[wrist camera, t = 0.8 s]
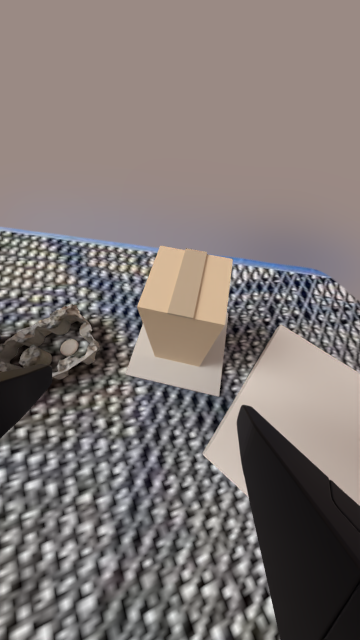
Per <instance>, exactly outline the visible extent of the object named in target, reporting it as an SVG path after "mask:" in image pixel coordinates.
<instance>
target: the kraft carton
mask: <svg viewBox="0 0 360 640" xmlns="http://www.w3.org/2000/svg"><path fill="white" fill-rule="evenodd" d="M232 261H233V259H229V258H224V257H219V256H213V255H208V254H207V252H202V251H198V250H192V249H187V248H186V250H181V249H176V248H170V247H165V246H160V248H159V251H158V253H157V256H156V259H155V261H154V264H153V267H152V269H151V272H150V274H149V277H148V280H147V282H146V285H145V288H144V290H143V293H142V296H141V298H140V301H139V303H138V306H137V307H138V310H139V313H140V316H141V319H142V322H143V324H144V327H145V330H146V333H147V336H148V339H149V341H150V344H151V347H152V350H153V353H154V356H155V357H158V358H163V359H167V360H172V361H176V362H180V363H185V364H189V365H194V366H198V367H199V366H200V365H201V363H202V361H203V360H204V358H205V356H206V355H207V353H208V352H209V350H210V348H211V347H212V345H213V344H214V342H215V340H216V339H217V337H218V336H219V334H220V332H221V331H222V329H223V327H224V326H225V320H226V312H227V303H228V295H229V286H230V278H231V269H232Z"/></svg>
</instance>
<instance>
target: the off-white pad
mask: <svg viewBox="0 0 360 640" xmlns="http://www.w3.org/2000/svg"><path fill="white" fill-rule="evenodd" d="M241 405H248V406H251V407H253V408H254V409H255V410H256V411H257V412H258V413H259V414H260V415H261V416H262V417H263V418H265V419H266V420H267V421H268V422H269V423H270V424H271V425H272V426H273V427H274V428H275V429H276V430H278V431H279V432H280V433H281V434H282V435H283V436H284V437H285V438H286V439H287V440H288V441H289V442H291V443H292V444H293V445H294V446H295V447H296V448H297V449H298V450H299V451H300V452H301V453H303V454H304V455H305V456H306V457H307V458H308V459H309V460H310V461H311V462H312V463H313V464H314V465H316V466H317V467H318V468H319V469H320V470H321V471H322V472H323V473H324V474H325V475H326V476H327V477H328V478H329V480H332V481H333V482H334V483H335V484H336V485H337V486H338V487H339V488H341V489H342V490H343V491H344V492H345V493H346V494H347V495H348V496H349V497H350V498H352V499H353V500H354V501H355V502H356V503H357V504H358V505H359V506H360V373H358V372H357V371H355V370H353V369H352V368H350V367H348V366H347V365H345V364H344V363H342V362H340V361H339V360H337V359H336V358H334V357H332V356H331V355H329V354H328V353H326V352H324V351H323V350H321V349H320V348H318V347H316V346H315V345H313V344H311V343H310V342H308V341H307V340H305V339H303V338H302V337H300V336H299V335H297V334H295V333H294V332H292V331H291V330H289V329H287V328H286V327H284V326H282V325H280V326H279V327H277V329H276V330H275V332H274V334H273V336H272V337H271V339H270V341H269V342H268V344H267V346H266V347H265V349H264V351H263V352H262V354H261V356H260V357H259V359H258V361H257V362H256V364H255V366H254V367H253V369H252V371H251V373H250V374H249V376H248V378H247V379H246V381H245V383H244V384H243V386H242V388H241V389H240V391H239V393H238V394H237V396H236V398H235V399H234V401H233V403H232V404H231V406H230V408H229V410H228V411H227V413H226V415H225V416H224V418H223V420H222V421H221V423H220V425H219V426H218V428H217V430H216V431H215V433H214V435H213V436H212V438H211V440H210V441H209V443H208V445H207V447H206V448H205V450H204V452H203V453H202V454H203V455H204V456H205V457H206V458H207V459H208V460H209V461H210V462H211V463H212V464H213V465H214V466H216V467H217V468H218V469H219V470H220V471H221V472H222V473H223V474H224V475H225V476H226V477H227V478H228V479H230V480H231V481H232V482H233V483H234V484H235V485H236V486H237V487H238V488H239V489H240V490H241V491H242V492H244V493H245V494H246V495H247V496H248V492H247V487H246V483H245V478H244V474H243V469H242V464H241V457H240V449H239V441H238V433H237V418H238V414H239V411H240V407H241ZM248 497H249V496H248Z"/></svg>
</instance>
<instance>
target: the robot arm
mask: <svg viewBox="0 0 360 640" xmlns="http://www.w3.org/2000/svg"><path fill="white" fill-rule="evenodd" d="M51 384H52V366H50V365H46V364H38V365H34V366H29V367H24V368H19V369H14V370H10V371H5V372H0V438H1V437H2V436H3V435H4V434H5V433H6V432H7V431H8V430H10V429H11V428H12V427H13V426H14V425H15V424H16V423H17V422H18V421H19V420H20V419H21V418H22V417H23V416H24V415H25V414H26V413H27V412H28V411H29V409H30V408H31V407H32V406H33V405H34V404H35V403H36V402H37V400H38V399H39V398H40V397H41V396H42V395H43V394H44V392H45V391H46V390H47V389H48V388H49V387H50V385H51ZM237 433H238V441H239V449H240V457H241V464H242V469H243V474H244V478H245V483H246V487H247V492H248V496H249V501H250V505H251V509H252V514H253V518H254V523H255V527H256V532H257V536H258V541H259V545H260V550H261V554H262V559H263V563H264V568H265V572H266V577H267V581H268V586H269V590H270V595H271V599H272V604H273V608H274V613H275V617H276V622H277V626H278V631H279V635H280V640H360V506H359V505H358V504H357V503H356V502H355V501H354V500H353V499H352V498H350V497H349V496H348V495H347V494H346V493H345V492H344V491H343V490H342V489H341V488H339V487H338V486H337V485H336V484H335V483H334V482H333V481H332V480H329V478H328V477H327V476H326V475H325V474H324V473H323V472H322V471H321V470H320V469H319V468H318V467H317V466H316V465H314V464H313V463H312V462H311V461H310V460H309V459H308V458H307V457H306V456H305V455H304V454H303V453H301V452H300V451H299V450H298V449H297V448H296V447H295V446H294V445H293V444H292V443H291V442H289V441H288V440H287V439H286V438H285V437H284V436H283V435H282V434H281V433H280V432H279V431H278V430H276V429H275V428H274V427H273V426H272V425H271V424H270V423H269V422H268V421H267V420H266V419H265V418H263V417H262V416H261V415H260V414H259V413H258V412H257V411H256V410H255V409H254V408H253V407H251V406H248V405H241V407H240V411H239V414H238V418H237Z"/></svg>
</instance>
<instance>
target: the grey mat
mask: <svg viewBox="0 0 360 640" xmlns="http://www.w3.org/2000/svg"><path fill="white" fill-rule="evenodd" d="M227 321H228V313H227V312H226V320H225V326H224V327H223V329H222V331H221V332H220V334H219V336H218V337H217V339H216V340H215V342H214V344H213V345H212V347H211V348H210V350H209V352H208V353H207V355H206V356H205V358H204V360H203V361H202V363H201V365H200V366H199V367H198V366H194V365H189V364H185V363H180V362H176V361H172V360H167V359H163V358H158V357H155V356H154V353H153V350H152V347H151V344H150V341H149V339H148V336H147V333H146V330H145V327H144V324H143V325H142V328H141V331H140V334H139V337H138V340H137V343H136V345H135V348H134V351H133V354H132V357H131V360H130V363H129V366H128V369H127V371H126V375H129V376H133V377H137V378H142V379H146V380H150V381H154V382H158V383H163V384H167V385H171V386H175V387H179V388H184V389H188V390H192V391H196V392H201V393H205V394H209V395H213V396H217V397H219V392H220V384H221V375H222V366H223V357H224V348H225V339H226V330H227Z"/></svg>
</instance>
